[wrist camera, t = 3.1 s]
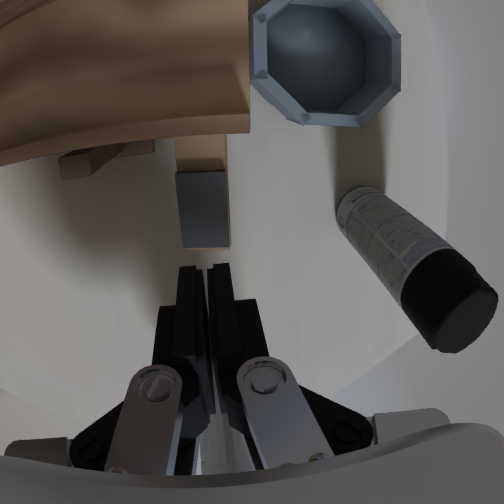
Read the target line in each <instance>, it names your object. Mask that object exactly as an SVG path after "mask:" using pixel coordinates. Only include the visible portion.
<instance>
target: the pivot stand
mask: <svg viewBox="0 0 504 504" xmlns="http://www.w3.org/2000/svg"><path fill="white" fill-rule="evenodd" d="M154 151H155V149H154V139H148V140H139V141H131V142H123V143H116V144H108V145H102V146H95V147H89V148H83V149H77V150H73V151H71V152H69V153H67V154H66V155H64V156H62V157H60V158H58V162H59V168H60V173H61V179H62V180H67V179H73V178H79V177H84V176H91V175H92V174H94V173H95V172H96V171H97V170H98V169H100V168H101V167H102V166H103V165H105V164H106V163H107V162H108V161H110V160H111V159H112V158H117V157H124V156H131V155H139V154H147V153H153V152H154Z"/></svg>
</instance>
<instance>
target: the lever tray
mask: <svg viewBox="0 0 504 504" xmlns="http://www.w3.org/2000/svg"><path fill="white" fill-rule="evenodd" d="M238 133H250V81H249V29H248V0H5V1H4V2H2V3H0V166H4V165H8V164H12V163H16V162H20V161H24V160H28V159H33V158H37V157H42V156H46V155H51V154H56V153H61V152H66V151H72V150H77V149H83V148H89V147H95V146H102V145H108V144H116V143H123V142H131V141H139V140H148V139H158V138H169V137H174V138H175V151H176V163H177V172H176V174H175V179H176V189H177V198H178V207H179V216H180V224H181V232H182V240H183V248H186V250H230V246H231V231H230V211H229V189H228V166H227V141H226V134H238Z"/></svg>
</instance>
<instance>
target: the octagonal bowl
mask: <svg viewBox="0 0 504 504" xmlns="http://www.w3.org/2000/svg"><path fill="white" fill-rule="evenodd" d="M248 29H249V81H250V84H251V85H252V86H253V87H254V88H255V89H256V90H258V92H259V93H260V94H261V95H262V96H263V97H264V98H265V99H266V100H267V101H268V102H269V103H270V104H272V105H273V106H274V107H276V108H277V109H278V110H279V111H280V112H281V113H282V114H283V115H284V116H285V117H286V119H287V120H290V121H293V122H295V123H298V124H301V125H331V126H350V127H359V128H362V127H363V126H364V125H365V124H366V123H367V122H368V121H369V120H370V119H371V118H372V117H373V116H374V115H376V114H377V113H378V112H379V111H380V110H381V109H382V108H383V107H384V106H385V105H386V104H387V103H388V102H389V101H390V100H391V99H392V98H393V97H394V96H395V95H396V94H397V93H398V92H399V91H400V92H401V34H399V33H398V31H397V30H396V29H395V27H394V26H393V25H392V24H391V22H390V21H389V20H388V19H387V18H386V16H385V15H384V14H383V13H382V12H381V10H380V9H379V8H378V7H377V6H376V5H375V4H374V2H373V1H372V0H271V1H270V2H268V3H267V4H266V5H265V6H263V7H262V8H261V9H260V10H258V11H257V12H256V13H255V14H253V15H252V16H251V18H250V20H249V21H248Z"/></svg>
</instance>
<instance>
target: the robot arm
mask: <svg viewBox="0 0 504 504" xmlns="http://www.w3.org/2000/svg"><path fill="white" fill-rule="evenodd" d="M207 280H208V306H209V318H208V311H207V303H206V295H205V287H204V279H203V271H202V269H199V270H196V265H195V266H183V267H180V268H179V276H178V286H177V297H176V305H172V306H160V308H159V312H158V319H157V327H156V334H155V342H154V350H153V358H152V365H151V366H147V367H144V368H143V369H141V370H139V371H138V372H137V373H136V374H135V375H134V376H133V378H132V379H131V381H130V384H129V387H128V390H127V393H126V396H125V399H124V401H123V402H121V403H120V404H119V405H117V406H116V407H115V408H113V409H112V410H111V411H109V412H108V413H107V414H105V415H104V416H102V417H101V418H100V419H98V420H97V421H96V422H94V423H93V424H92V425H90V426H89V427H88V428H86V429H85V430H83V431H82V432H81V433H79V434H78V435H77V436H76V437H75V438H74V439H68V438H67V437H59V438H47V439H31V440H17V441H13V442H12V443H11V444H9V445H8V447H7V448H6V450H5V454H4V456H0V504H504V437H503V436H502V435H501V434H500V433H499V432H498V431H497V430H495V429H494V428H493V427H490V426H488V425H484V424H478V423H454V424H451V423H450V421H449V419H448V417H447V415H446V414H445V413H443V412H442V411H440V410H438V409H435V408H433V409H432V408H428V409H419V410H411V411H401V412H390V413H376V414H374V415H373V417H364V416H363V415H361V414H359V413H357V412H355V411H353V410H351V409H348V408H346V407H344V406H342V405H340V404H337V403H335V402H333V401H331V400H329V399H327V398H325V397H323V396H321V395H319V394H317V393H315V392H312V391H310V390H308V389H306V388H304V387H302V386H300V385H298V383H297V381H296V379H295V377H294V375H293V373H292V371H291V370H290V368H289V367H288V366H287V364H285V363H284V362H282V361H281V360H279V359H276V358H273V357H269V353H268V348H267V344H266V340H265V336H264V332H263V327H262V323H261V319H260V315H259V311H258V306H257V302H256V299H246V300H234V294H233V287H232V280H231V273H230V266H229V263H220V264H213V268H211V269H207ZM212 364H213V365H212ZM199 443H200V456H201V472H202V475H196V468H197V460H198V451H199Z"/></svg>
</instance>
